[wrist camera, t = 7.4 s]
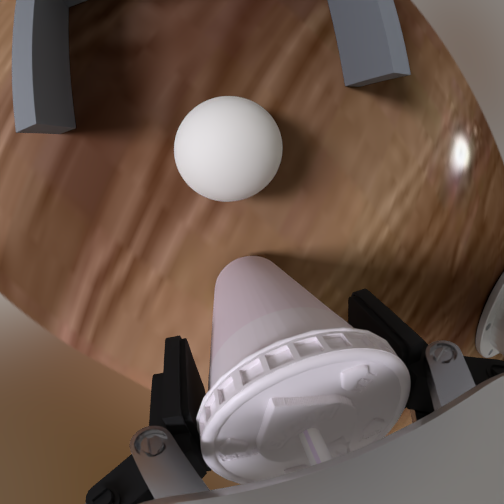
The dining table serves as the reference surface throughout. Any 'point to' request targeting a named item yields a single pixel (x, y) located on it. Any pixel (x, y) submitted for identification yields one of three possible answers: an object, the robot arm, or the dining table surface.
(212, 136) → the ball
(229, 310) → the smoothie
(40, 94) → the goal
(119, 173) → the dining table surface
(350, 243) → the dining table surface
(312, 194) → the dining table surface
